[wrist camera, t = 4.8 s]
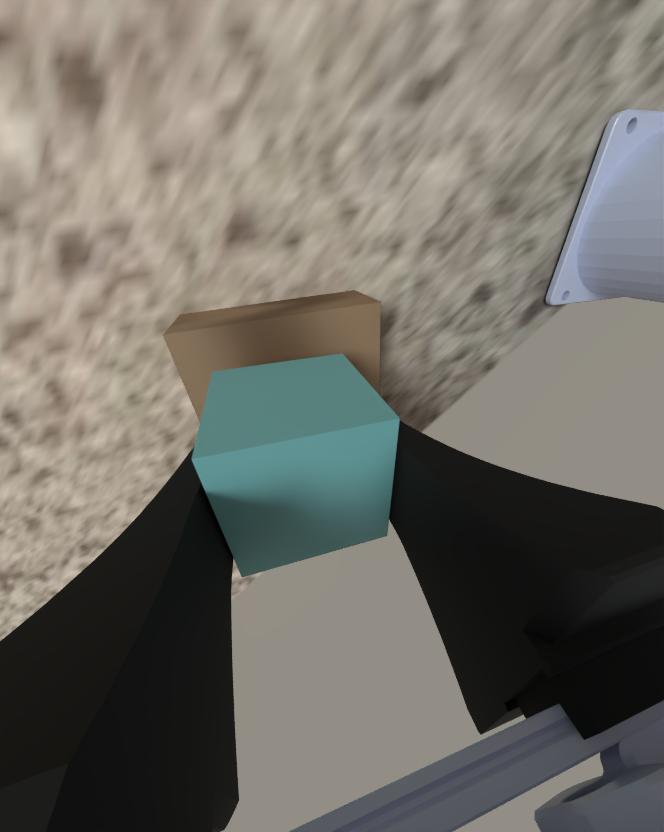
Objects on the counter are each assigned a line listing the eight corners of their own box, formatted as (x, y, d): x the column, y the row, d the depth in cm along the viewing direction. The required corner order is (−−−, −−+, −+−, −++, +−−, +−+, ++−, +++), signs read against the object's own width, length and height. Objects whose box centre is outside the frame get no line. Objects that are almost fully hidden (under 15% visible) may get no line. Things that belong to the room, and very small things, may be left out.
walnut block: (352, 289, 14) (380, 301, 11) (357, 421, 18) (378, 455, 15) (181, 313, 12) (162, 334, 9) (232, 450, 17) (230, 492, 14)
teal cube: (342, 353, 10) (399, 418, 6) (344, 448, 12) (386, 535, 9) (212, 371, 9) (191, 459, 5) (242, 470, 12) (242, 577, 8)
